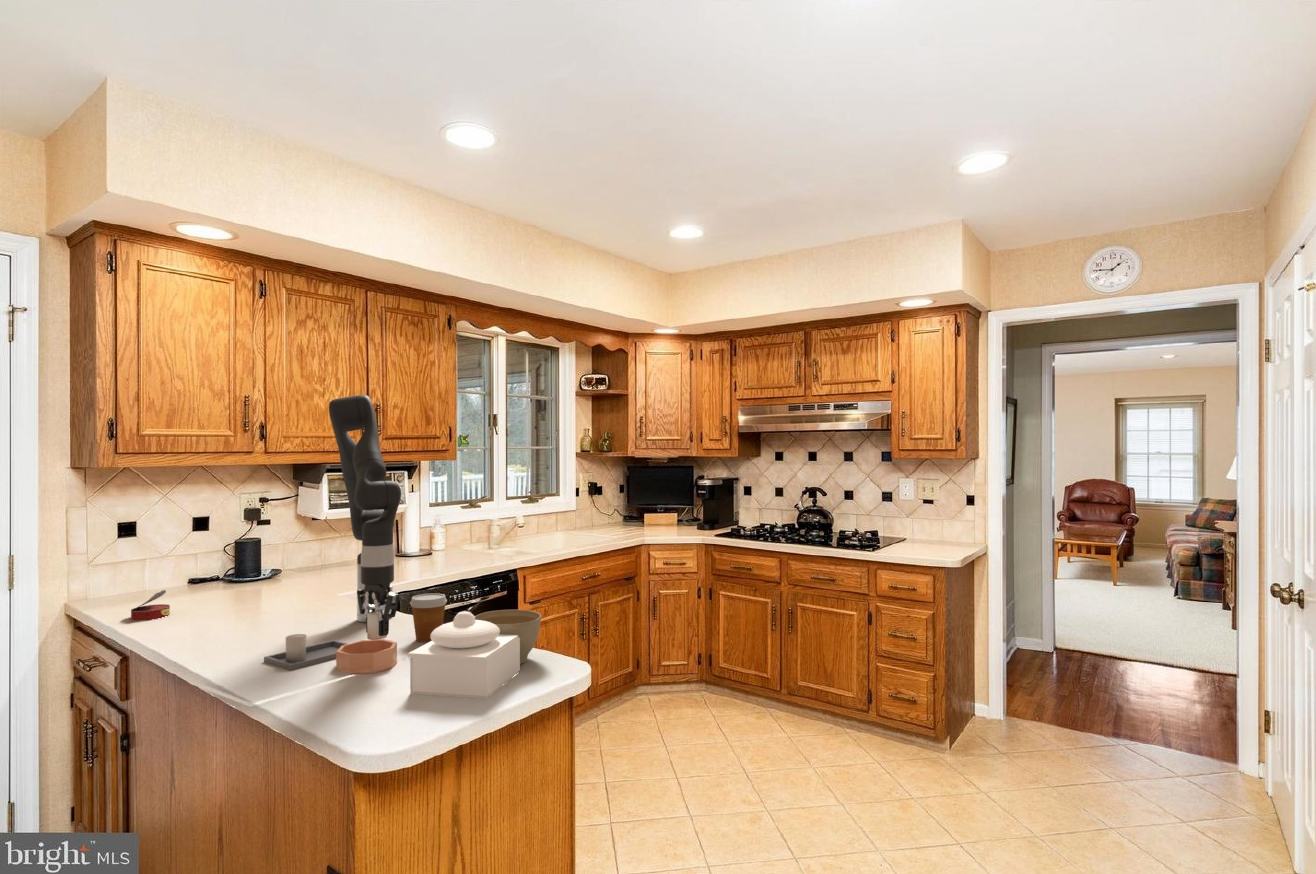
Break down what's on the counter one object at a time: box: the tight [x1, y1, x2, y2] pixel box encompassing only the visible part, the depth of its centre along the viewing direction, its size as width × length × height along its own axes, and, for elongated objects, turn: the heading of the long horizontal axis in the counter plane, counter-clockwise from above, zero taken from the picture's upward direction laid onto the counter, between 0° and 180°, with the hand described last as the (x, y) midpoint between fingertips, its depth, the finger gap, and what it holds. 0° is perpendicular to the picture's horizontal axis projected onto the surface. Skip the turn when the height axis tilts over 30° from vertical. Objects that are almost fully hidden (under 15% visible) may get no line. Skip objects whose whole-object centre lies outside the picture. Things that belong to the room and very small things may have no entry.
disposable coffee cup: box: [409, 593, 448, 644], centre depth 188 cm, size 10×10×12 cm
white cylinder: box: [366, 611, 388, 640], centre depth 169 cm, size 4×4×6 cm
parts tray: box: [263, 639, 349, 671], centre depth 172 cm, size 18×12×2 cm, turn 146°
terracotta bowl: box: [335, 638, 398, 676], centre depth 167 cm, size 13×13×4 cm
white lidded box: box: [407, 610, 521, 700], centre depth 154 cm, size 18×18×16 cm
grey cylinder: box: [285, 633, 307, 664], centre depth 169 cm, size 4×4×6 cm
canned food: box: [130, 589, 171, 622], centre depth 218 cm, size 11×10×10 cm
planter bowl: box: [474, 609, 542, 664], centre depth 170 cm, size 16×16×11 cm
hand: (377, 633), depth 169 cm, fingers closed on white cylinder, 4 cm apart
